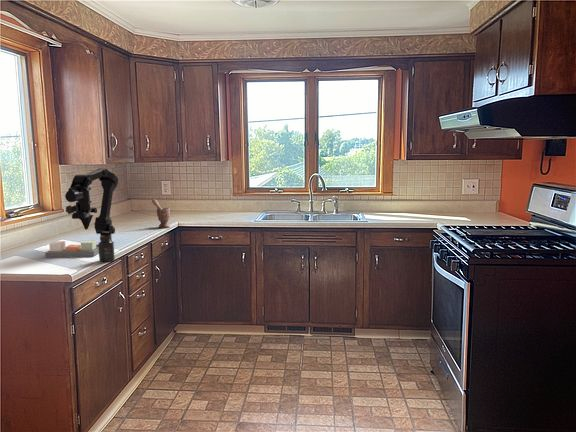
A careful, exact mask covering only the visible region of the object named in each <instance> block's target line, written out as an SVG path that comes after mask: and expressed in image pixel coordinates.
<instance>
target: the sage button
mask: <svg viewBox="0 0 576 432" xmlns="http://www.w3.org/2000/svg"><path fill="white" fill-rule="evenodd" d="M80 245H81V251H93V250H94V249H96V247H97V241H96V240H84V241H82V242H80Z"/></svg>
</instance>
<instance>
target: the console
mask: <svg viewBox="0 0 576 432" xmlns="http://www.w3.org/2000/svg"><path fill="white" fill-rule="evenodd" d="M44 254H45V255H44V257H45V258H51V259H52V258H83V257H84V258H86V257H87V258H90V257H92V258H93V257H96V256H97V255H99V249H98V247H97V246H96V249H94V250H93V251H81V249H80V250H78V251H66V249H65V250H63V251H52V252H50V249H48V251H46V252H44Z"/></svg>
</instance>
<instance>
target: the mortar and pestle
mask: <svg viewBox="0 0 576 432" xmlns="http://www.w3.org/2000/svg"><path fill="white" fill-rule="evenodd" d="M151 202H152V204H153V205H154V206H155V207H156V216H157V219H158V221H159V222H160V224H158V228H159V229H168V228H170V227H171V225H170V224H169V223H168V222H169V220H170V217H171V208H170V207H161V205H160V204H159V202H158V200H157V199H155V198H153V199H152V200H151Z"/></svg>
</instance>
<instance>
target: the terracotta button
mask: <svg viewBox="0 0 576 432" xmlns="http://www.w3.org/2000/svg"><path fill="white" fill-rule="evenodd" d="M65 248H66V251H78V250H80V249H81V244H69V245H66V247H65Z"/></svg>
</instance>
